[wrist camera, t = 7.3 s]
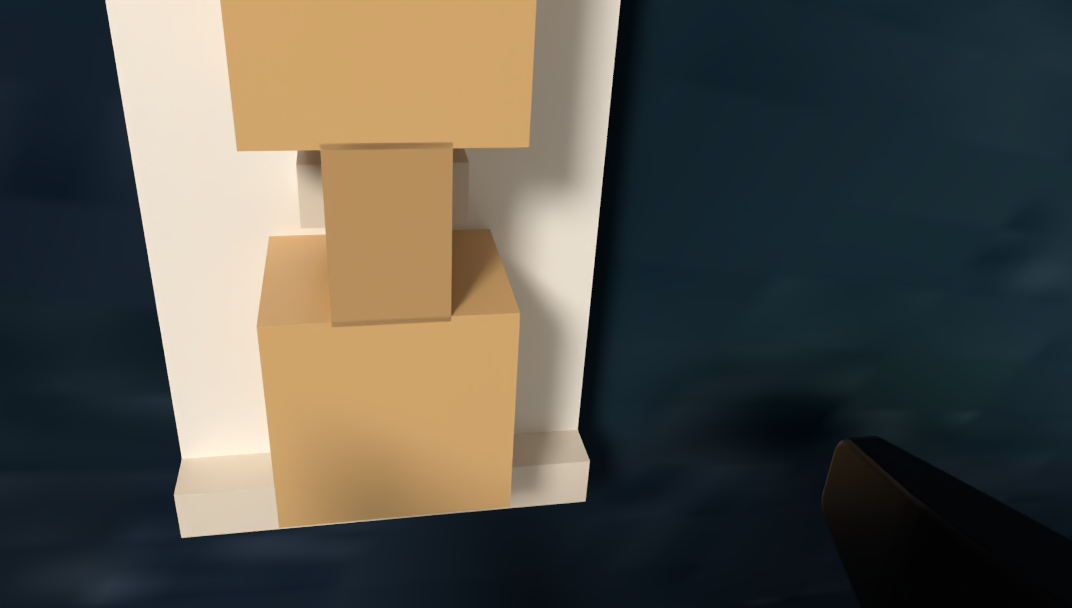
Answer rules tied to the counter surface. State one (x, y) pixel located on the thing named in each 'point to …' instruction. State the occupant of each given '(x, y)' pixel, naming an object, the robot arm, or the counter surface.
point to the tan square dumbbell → (385, 250)
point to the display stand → (298, 209)
